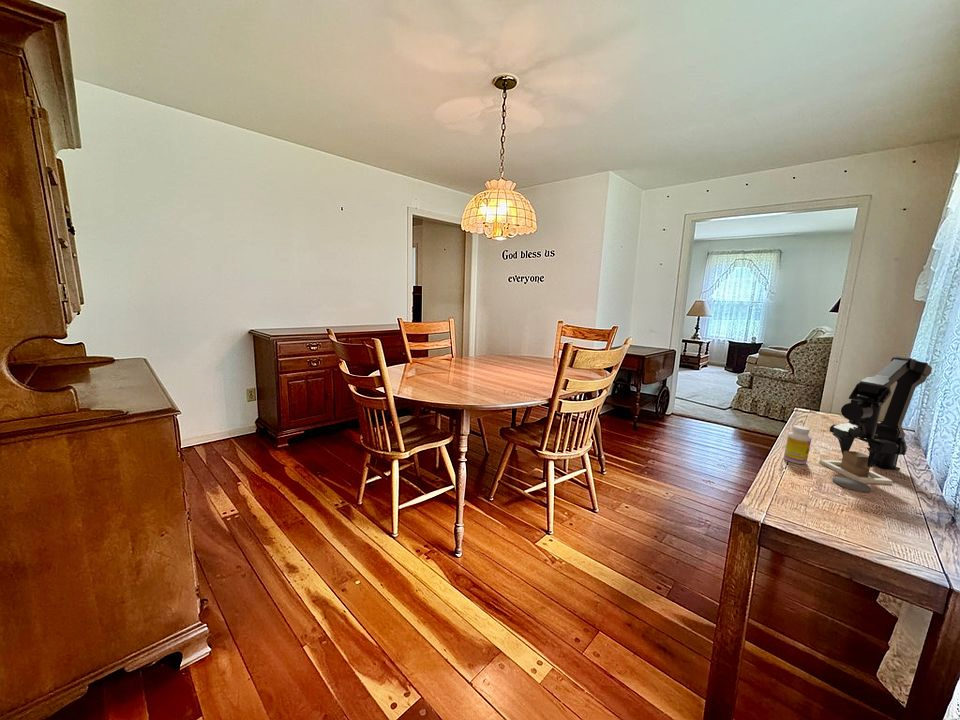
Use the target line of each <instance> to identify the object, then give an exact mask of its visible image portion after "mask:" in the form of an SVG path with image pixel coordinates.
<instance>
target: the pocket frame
mask: <svg viewBox="0 0 960 720" xmlns="http://www.w3.org/2000/svg"><path fill="white" fill-rule="evenodd" d="M841 462H842V460H833V459H832V460H831V459H819V464H821V465H823V466H825V467H827V468H828V469H831V470H832V471H835V472H837V473H839V474H841V475H843V476H845V478H849V479H853V480H856V481H859V482H862V483H864V484H878V485H879V484H881V485H893V480H892V479H890V478H888V477H886V476H884V475H882V474H879V473H877V472H875V471H872V470H871V469H870V470H869V474H868V477H862V476H856V475H854V474H852V473H850V472H848V471H846V470H844V469H842V468H840V466H841Z"/></svg>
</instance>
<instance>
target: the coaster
mask: <svg viewBox="0 0 960 720" xmlns="http://www.w3.org/2000/svg"><path fill="white" fill-rule="evenodd" d="M832 482H833V484H836V485H837V486H840V487H842V488H844V489H847V490H850V491H854V492H860V493H871V492H872V487H871V486H870V485H867V483H862V482H859V481H856V480H853V479H850V478H848V477H843V476H835V477H834V476H833V478H832Z"/></svg>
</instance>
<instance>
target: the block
mask: <svg viewBox="0 0 960 720" xmlns="http://www.w3.org/2000/svg"><path fill="white" fill-rule="evenodd" d="M868 458H869V454H865V453H863V452H860V451H854V450H851V451H850V450H849V451H844V453H843V455H842V459H841V461H842V462H841V465H839V467H840V468H842V469H844V470H846V471H848V472H850V473H852V474H854V475H856V476H858V477H866V478H869V475H868V474H869V470H870V471H871V469H870V468H871V467H868V466H867V464H868Z"/></svg>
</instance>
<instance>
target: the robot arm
mask: <svg viewBox="0 0 960 720" xmlns="http://www.w3.org/2000/svg"><path fill="white" fill-rule="evenodd" d="M932 369H933V367H932V366H931V365H930V364H929V363H928V362H925V361H919V360H917V359H915V358H912V357H908V356H907V357H904V356H893V357H892V358H891V360H890V362H889V363H887V364H886V365H885V366H884V367H883V368H882V369H881V370H880V371H879V372H877V373H876V374H875V375H873V376H868V377H864V378H863V379H862V380H860V381H859V382H857V384H855V387H854V388H853V390H852V392H851V393H850V395H849V396H848V399H849V400H850V402H848V403H845V404H844V405H842V407H841V408H840V412H841V415H842V416H843V417H844V418H845V419H846V420H848V422H847V423H840V424H832V425H831V426H830V427H829V432H830V433H832V434H831V435H833V436H834V437H835V438H836V439H837V441H838V443H839V447H840V451H841V455H842V456H843V453H844V451H850V450H851V448H852V445H853V443H854V441H855V439H858V440H860V441H862V442H865V443H867V445H868V447H866V449H867V450H868V456H869V458H868V464H867V466H868V467H870V468H872V467H874V466H876V467H878V468H880V469H883V470H896V471H897V470H901V468H900V467H898V466H897V463H898V458H899V456H900V455H901V456H905V455H906V453H907V452H908V451H907V450H908V445H907V443H906V439H905V437H906V434H905V431H904V429H903V426H902V425H903V423H904V421H905V417H906V415H907V412H908V409H909V406H910V403H911V401H912V399H913V396H914V393H915V390H916V388H917V387H919V386H920V385H922V384H924V382H926V381H927V379H928V377H929V376H930V375H931V373H932ZM895 383H896V385H895V387H894V390H893V393H892V389H891V388H892V386H893V385H894V384H895ZM891 395H892V396H891ZM890 397H891V399H890V402H889V404H888V407H887V409H886V411H885V414H884V418H883V419H882V421H881V422H879V419H880V414H881V410H882V406H883V405H884V404H885V403H886V402H887V400H888V399H889V398H890Z"/></svg>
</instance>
